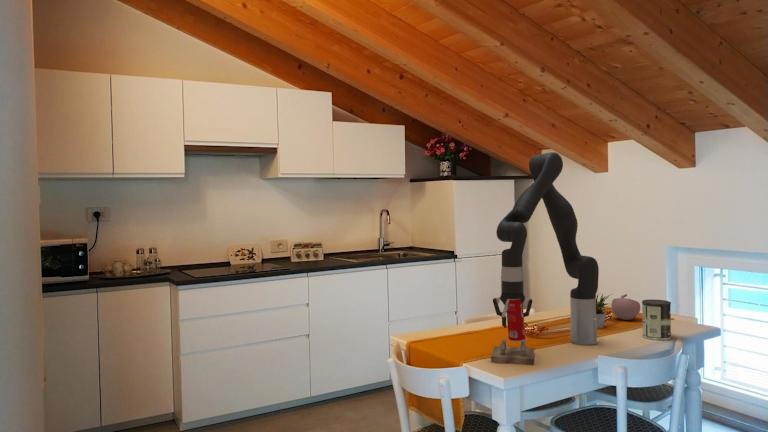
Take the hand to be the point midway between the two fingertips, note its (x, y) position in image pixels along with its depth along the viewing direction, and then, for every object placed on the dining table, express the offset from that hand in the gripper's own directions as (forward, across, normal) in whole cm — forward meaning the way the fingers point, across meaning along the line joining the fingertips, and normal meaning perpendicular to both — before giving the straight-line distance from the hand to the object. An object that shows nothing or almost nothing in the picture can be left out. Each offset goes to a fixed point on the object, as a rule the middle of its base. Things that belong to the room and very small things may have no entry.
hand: (512, 327), depth 198 cm
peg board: (+11, 0, 0) cm, 11 cm away
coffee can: (+11, -53, -41) cm, 68 cm away
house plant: (+11, -31, -55) cm, 64 cm away
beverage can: (+5, -1, 0) cm, 5 cm away
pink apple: (+11, -46, -72) cm, 86 cm away
